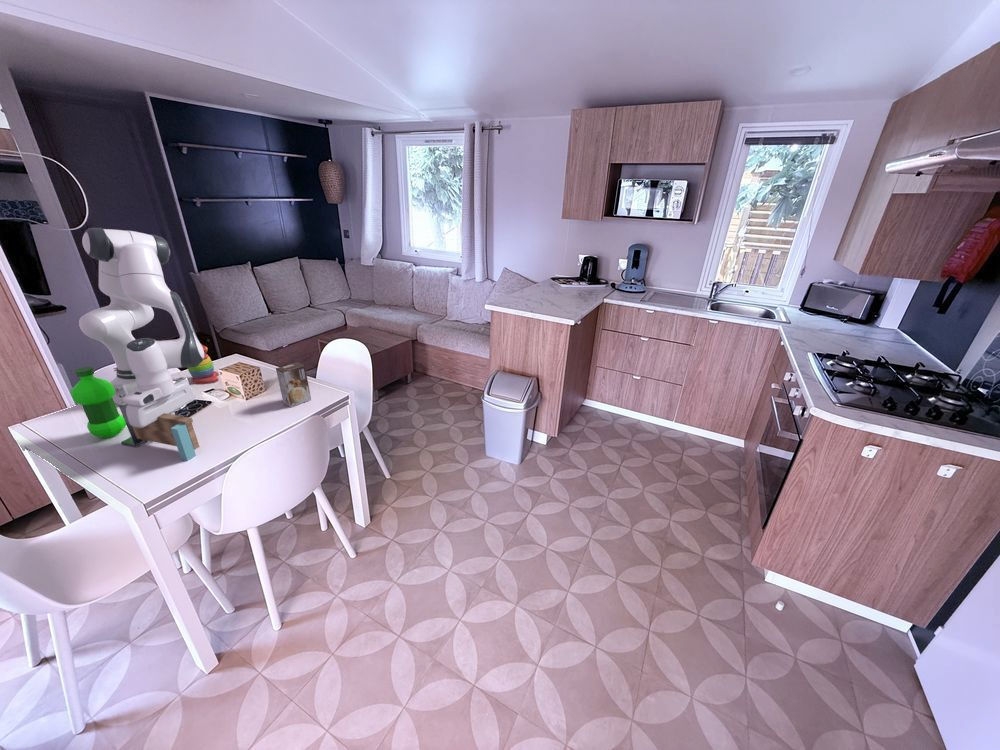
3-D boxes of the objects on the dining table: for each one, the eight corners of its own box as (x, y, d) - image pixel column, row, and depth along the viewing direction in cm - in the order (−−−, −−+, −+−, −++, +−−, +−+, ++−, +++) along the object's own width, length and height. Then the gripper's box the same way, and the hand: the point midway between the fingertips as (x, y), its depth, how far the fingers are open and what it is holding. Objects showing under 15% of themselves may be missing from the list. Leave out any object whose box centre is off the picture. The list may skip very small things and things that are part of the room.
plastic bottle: (83, 443, 135) (52, 377, 124) (102, 427, 144) (75, 364, 134) (119, 440, 137) (92, 374, 127) (136, 424, 147) (111, 362, 136)
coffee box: (303, 395, 173) (297, 361, 166) (311, 400, 169) (305, 365, 163) (282, 403, 166) (275, 367, 159) (290, 408, 162) (283, 372, 156)
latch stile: (181, 459, 130) (170, 428, 125) (189, 454, 132) (179, 423, 127) (187, 460, 129) (176, 429, 124) (196, 455, 132) (185, 424, 127)
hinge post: (121, 444, 135) (106, 408, 130) (139, 435, 141) (126, 400, 135) (136, 447, 134) (121, 411, 128) (153, 437, 140) (140, 402, 134)
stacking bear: (218, 382, 180) (208, 345, 173) (191, 386, 175) (179, 348, 168) (218, 373, 189) (209, 337, 181) (192, 377, 184) (181, 340, 176)
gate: (135, 438, 135) (124, 410, 131) (142, 435, 137) (131, 407, 133) (194, 450, 131) (185, 421, 126) (200, 446, 133) (191, 418, 129)
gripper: (178, 374, 139) (189, 408, 145) (116, 401, 121) (132, 439, 126) (193, 376, 138) (204, 410, 144) (134, 404, 120) (149, 442, 126)
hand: (170, 424), depth 135 cm, fingers closed
